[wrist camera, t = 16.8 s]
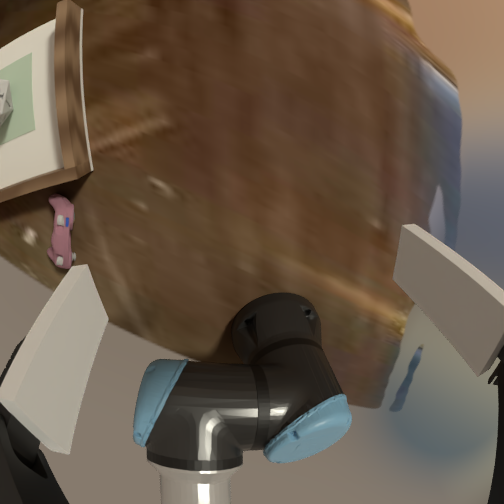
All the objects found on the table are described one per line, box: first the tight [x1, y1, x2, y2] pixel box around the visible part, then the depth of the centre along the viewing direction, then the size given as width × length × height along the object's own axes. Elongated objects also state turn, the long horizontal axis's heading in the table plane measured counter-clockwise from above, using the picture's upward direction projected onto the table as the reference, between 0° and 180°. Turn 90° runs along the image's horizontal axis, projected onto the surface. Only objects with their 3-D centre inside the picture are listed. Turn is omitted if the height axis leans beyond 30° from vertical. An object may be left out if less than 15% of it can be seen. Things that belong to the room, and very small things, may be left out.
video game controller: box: [47, 194, 76, 269], centre depth 32 cm, size 10×5×7 cm, turn 161°
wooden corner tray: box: [0, 0, 93, 203], centre depth 23 cm, size 24×24×5 cm
